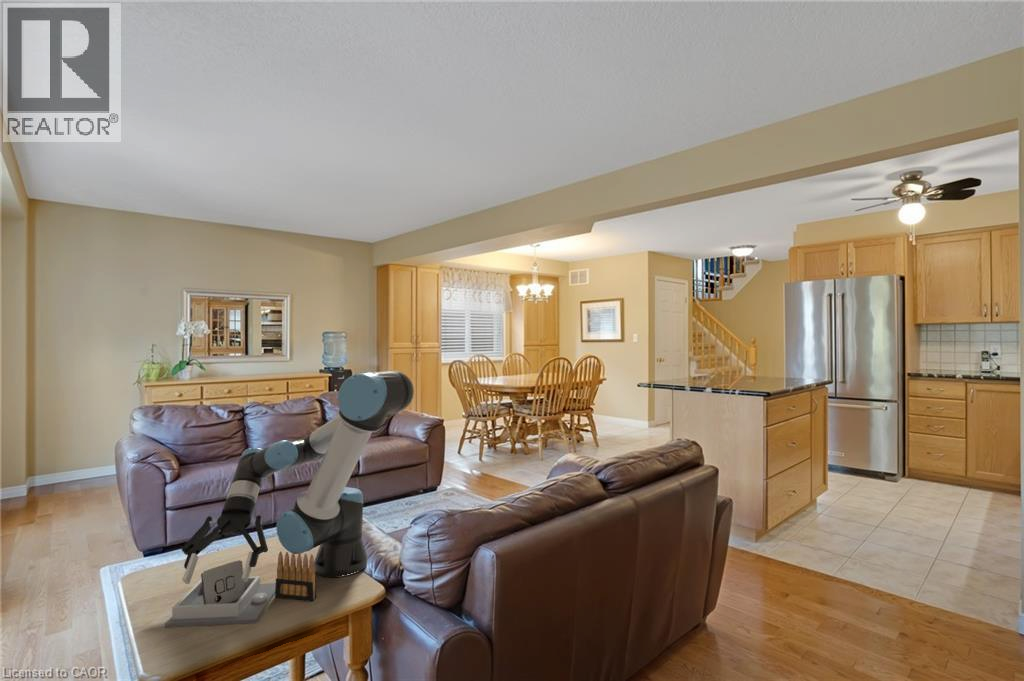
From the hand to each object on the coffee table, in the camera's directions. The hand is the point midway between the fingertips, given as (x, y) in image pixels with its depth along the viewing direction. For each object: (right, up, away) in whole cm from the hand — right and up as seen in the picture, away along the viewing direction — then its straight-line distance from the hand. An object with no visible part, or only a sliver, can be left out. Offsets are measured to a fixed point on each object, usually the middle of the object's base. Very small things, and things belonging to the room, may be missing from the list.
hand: (215, 581), depth 124 cm
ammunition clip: (+17, -8, +7) cm, 20 cm away
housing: (+1, -7, +3) cm, 8 cm away
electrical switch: (0, -7, +3) cm, 7 cm away
